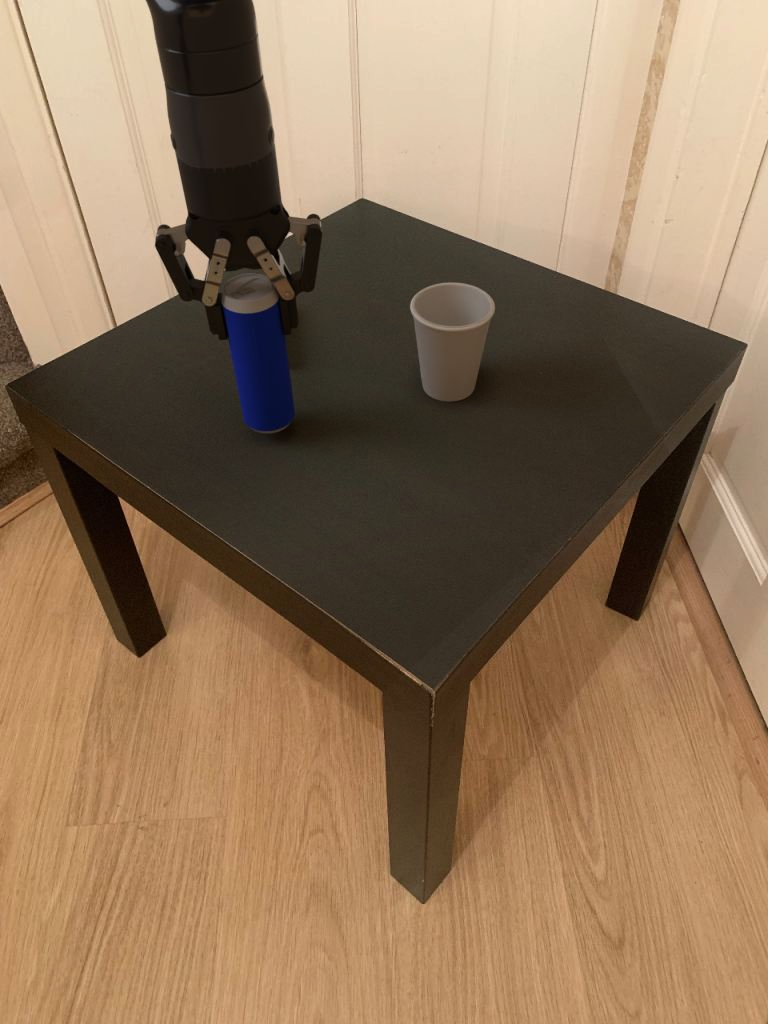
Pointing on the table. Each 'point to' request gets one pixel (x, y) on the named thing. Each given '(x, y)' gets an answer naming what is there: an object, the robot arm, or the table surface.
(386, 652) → the table surface
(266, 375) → the beverage can
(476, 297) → the dixie cup
